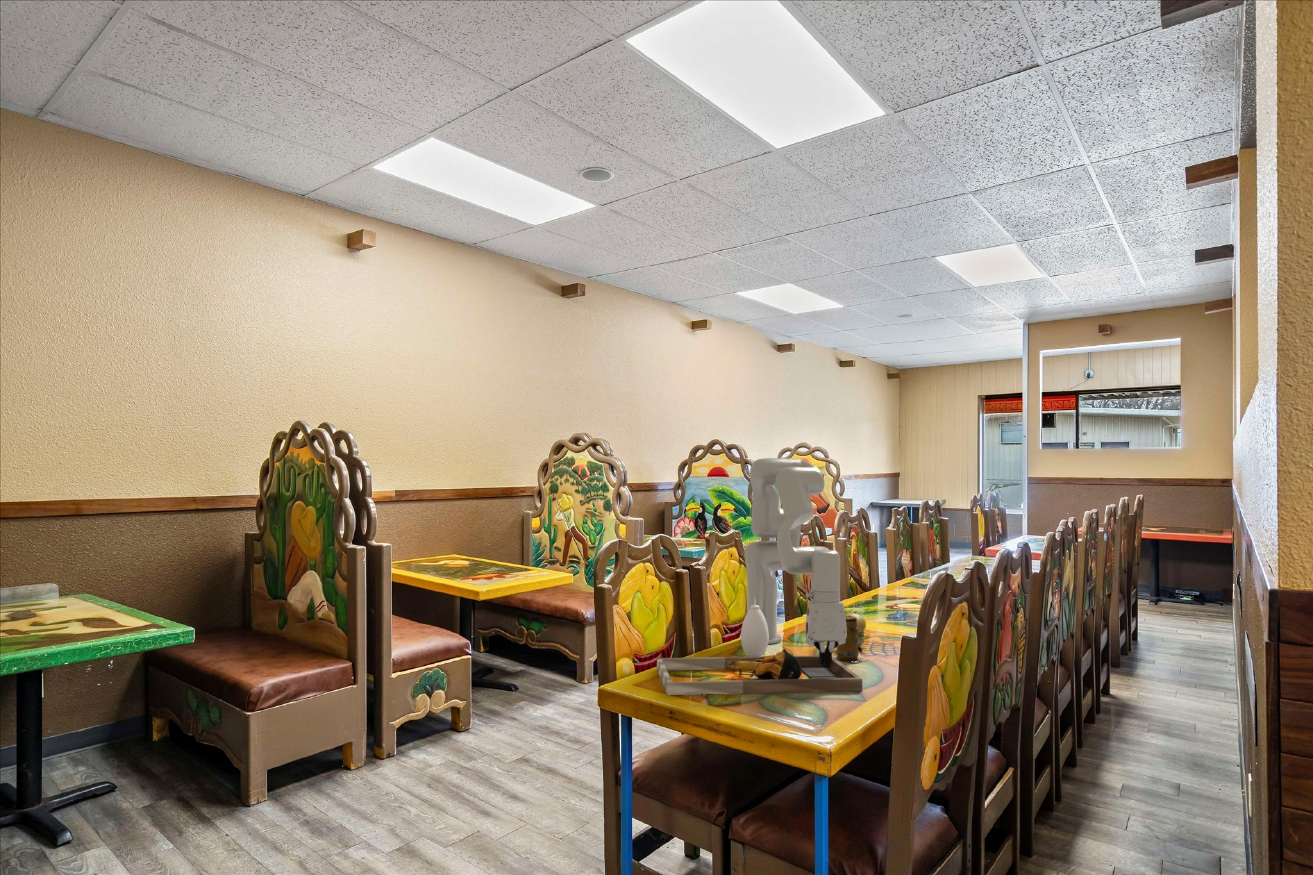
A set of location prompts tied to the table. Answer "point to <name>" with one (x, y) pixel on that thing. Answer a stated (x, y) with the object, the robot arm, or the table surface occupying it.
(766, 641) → the white bulb syringe
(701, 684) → the tray box
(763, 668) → the leather work glove
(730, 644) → the table surface
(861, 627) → the pale rounded lump
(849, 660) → the condiment
